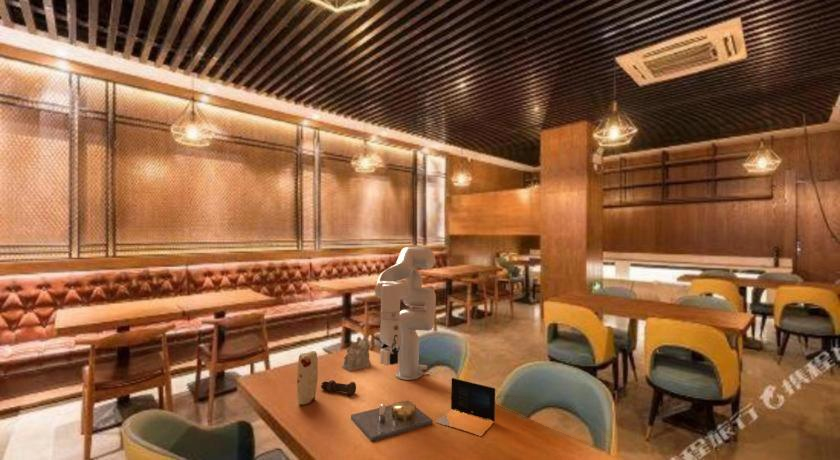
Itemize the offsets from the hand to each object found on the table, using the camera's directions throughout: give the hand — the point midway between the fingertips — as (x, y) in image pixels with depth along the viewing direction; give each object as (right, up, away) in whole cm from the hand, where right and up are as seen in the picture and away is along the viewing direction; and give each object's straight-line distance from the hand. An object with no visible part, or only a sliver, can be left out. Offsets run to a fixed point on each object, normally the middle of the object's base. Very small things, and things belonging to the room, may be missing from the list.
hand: (389, 360), depth 154 cm
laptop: (+29, -20, -10) cm, 36 cm away
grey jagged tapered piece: (-22, -18, +50) cm, 57 cm away
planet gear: (0, -1, 0) cm, 1 cm away
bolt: (-23, -19, +14) cm, 33 cm away
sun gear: (+6, -17, -8) cm, 20 cm away
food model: (-33, -18, +4) cm, 38 cm away
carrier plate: (+2, -19, -11) cm, 22 cm away
